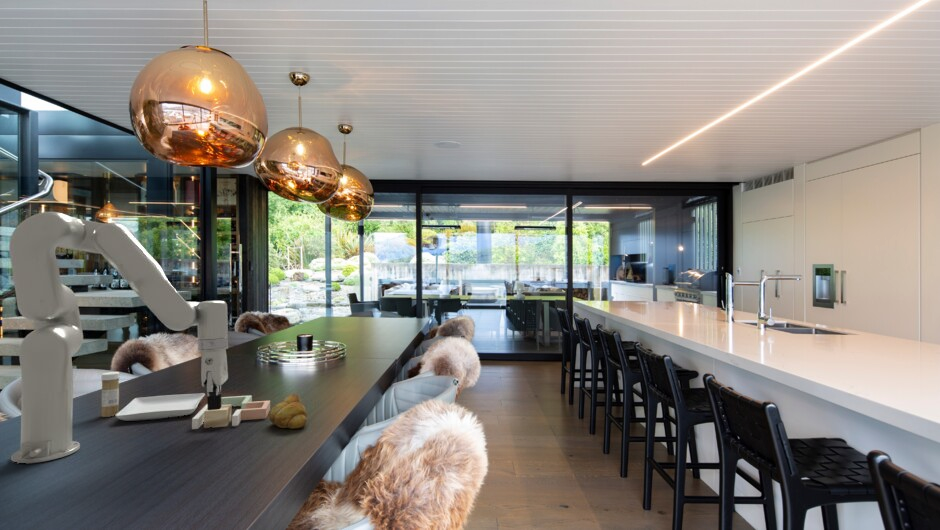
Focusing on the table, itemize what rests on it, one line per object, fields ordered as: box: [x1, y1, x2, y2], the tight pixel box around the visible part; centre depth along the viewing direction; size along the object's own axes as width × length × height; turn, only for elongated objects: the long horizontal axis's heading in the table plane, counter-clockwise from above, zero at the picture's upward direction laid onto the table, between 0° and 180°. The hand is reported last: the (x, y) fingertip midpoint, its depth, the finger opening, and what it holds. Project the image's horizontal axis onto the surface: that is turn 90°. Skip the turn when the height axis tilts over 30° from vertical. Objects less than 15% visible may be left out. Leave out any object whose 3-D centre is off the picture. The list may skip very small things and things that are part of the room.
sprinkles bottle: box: [100, 371, 120, 418], centre depth 149 cm, size 5×5×13 cm
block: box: [203, 404, 232, 429], centre depth 141 cm, size 6×6×5 cm
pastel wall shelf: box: [191, 395, 271, 430], centre depth 150 cm, size 24×19×3 cm
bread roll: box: [268, 394, 308, 429], centre depth 139 cm, size 13×10×8 cm
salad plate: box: [114, 392, 206, 422], centre depth 153 cm, size 21×21×3 cm
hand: (214, 408), depth 133 cm, fingers closed
